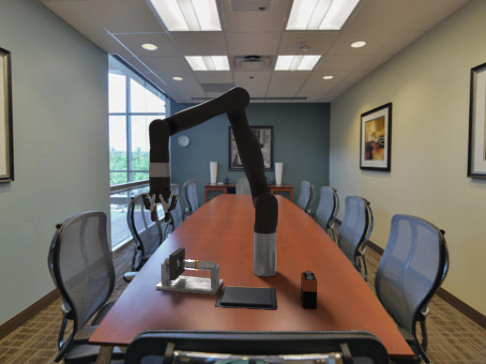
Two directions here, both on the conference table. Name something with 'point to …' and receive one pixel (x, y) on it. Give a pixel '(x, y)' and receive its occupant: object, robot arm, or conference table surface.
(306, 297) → the battery
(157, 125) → the robot arm
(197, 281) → the pipe stand
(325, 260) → the conference table surface
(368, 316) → the conference table surface
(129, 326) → the conference table surface
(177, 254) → the dark grey wedge plate
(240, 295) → the wallet
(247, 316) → the conference table surface
